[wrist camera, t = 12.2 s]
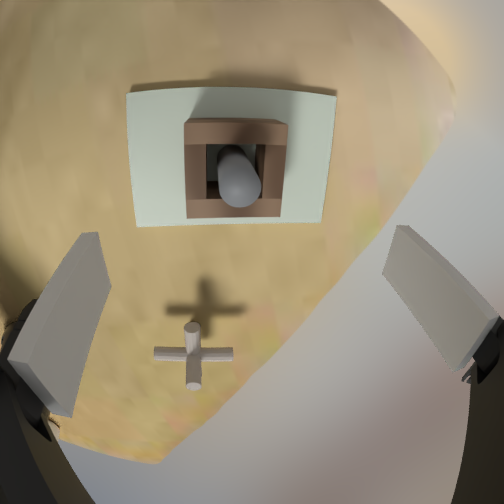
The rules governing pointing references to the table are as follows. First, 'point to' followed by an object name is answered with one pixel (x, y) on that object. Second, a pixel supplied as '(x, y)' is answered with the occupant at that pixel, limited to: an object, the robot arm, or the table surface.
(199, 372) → the pipe connector
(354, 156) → the table surface
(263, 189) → the collar
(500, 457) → the robot arm
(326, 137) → the post stand
